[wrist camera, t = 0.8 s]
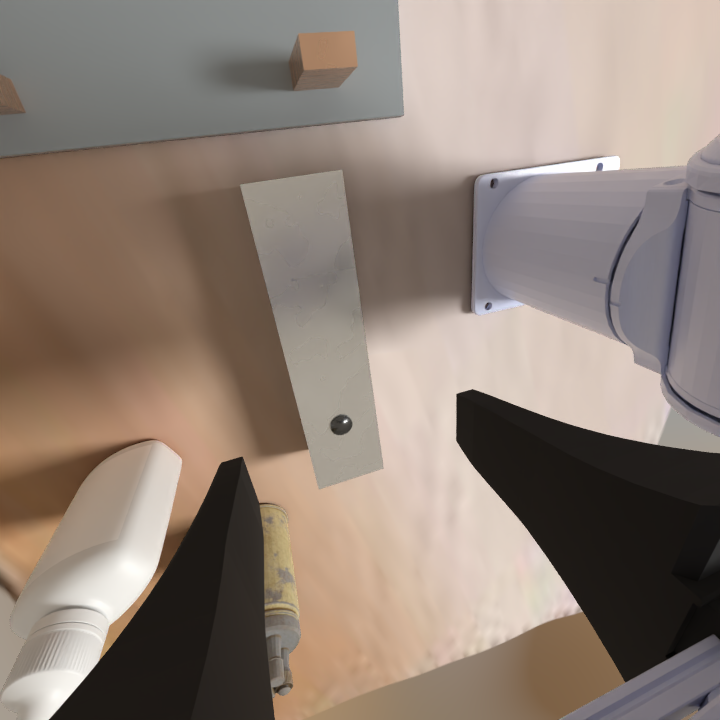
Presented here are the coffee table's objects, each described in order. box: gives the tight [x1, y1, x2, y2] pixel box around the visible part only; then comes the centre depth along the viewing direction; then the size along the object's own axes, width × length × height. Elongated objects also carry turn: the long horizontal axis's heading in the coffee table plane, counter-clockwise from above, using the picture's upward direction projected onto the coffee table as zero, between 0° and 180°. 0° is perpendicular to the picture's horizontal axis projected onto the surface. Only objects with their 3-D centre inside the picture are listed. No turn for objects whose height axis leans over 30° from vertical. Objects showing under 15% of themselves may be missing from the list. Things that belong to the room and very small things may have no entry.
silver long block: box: [240, 170, 383, 489], centre depth 19 cm, size 16×4×4 cm, turn 8°
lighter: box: [260, 504, 301, 698], centre depth 21 cm, size 7×4×10 cm, turn 101°
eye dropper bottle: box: [0, 440, 182, 720], centre depth 16 cm, size 4×6×12 cm
